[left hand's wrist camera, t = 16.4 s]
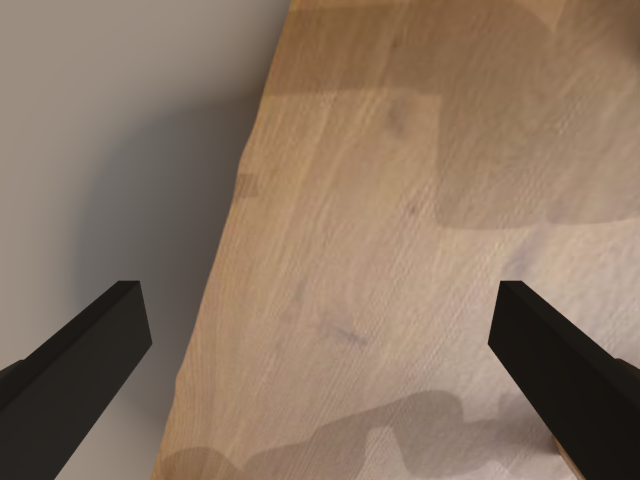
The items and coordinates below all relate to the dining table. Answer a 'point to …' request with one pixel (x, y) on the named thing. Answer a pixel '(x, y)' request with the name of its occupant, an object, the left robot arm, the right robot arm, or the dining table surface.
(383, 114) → the dining table surface
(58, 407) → the left robot arm
